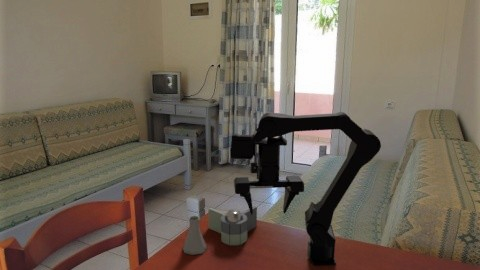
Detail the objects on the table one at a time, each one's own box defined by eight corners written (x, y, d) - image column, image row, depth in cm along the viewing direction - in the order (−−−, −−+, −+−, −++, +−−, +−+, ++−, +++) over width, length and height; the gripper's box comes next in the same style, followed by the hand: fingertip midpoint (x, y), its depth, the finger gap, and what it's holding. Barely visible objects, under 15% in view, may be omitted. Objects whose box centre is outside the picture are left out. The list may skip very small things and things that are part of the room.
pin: (240, 235, 113) (240, 209, 111) (241, 241, 109) (240, 214, 107) (227, 235, 113) (227, 209, 111) (228, 242, 109) (227, 215, 107)
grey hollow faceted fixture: (235, 248, 105) (235, 226, 104) (216, 239, 110) (215, 218, 109) (265, 229, 116) (265, 210, 115) (246, 222, 121) (246, 203, 120)
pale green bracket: (252, 237, 111) (252, 217, 110) (235, 248, 105) (235, 226, 104) (218, 223, 121) (218, 204, 119) (201, 232, 115) (200, 212, 113)
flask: (205, 255, 101) (204, 224, 99) (180, 255, 102) (179, 223, 99) (208, 242, 109) (207, 212, 106) (185, 242, 109) (183, 212, 106)
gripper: (296, 151, 104) (294, 200, 107) (232, 152, 102) (233, 202, 106) (305, 162, 93) (303, 217, 97) (235, 164, 92) (235, 219, 95)
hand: (268, 213), depth 99 cm, fingers open, 9 cm apart
